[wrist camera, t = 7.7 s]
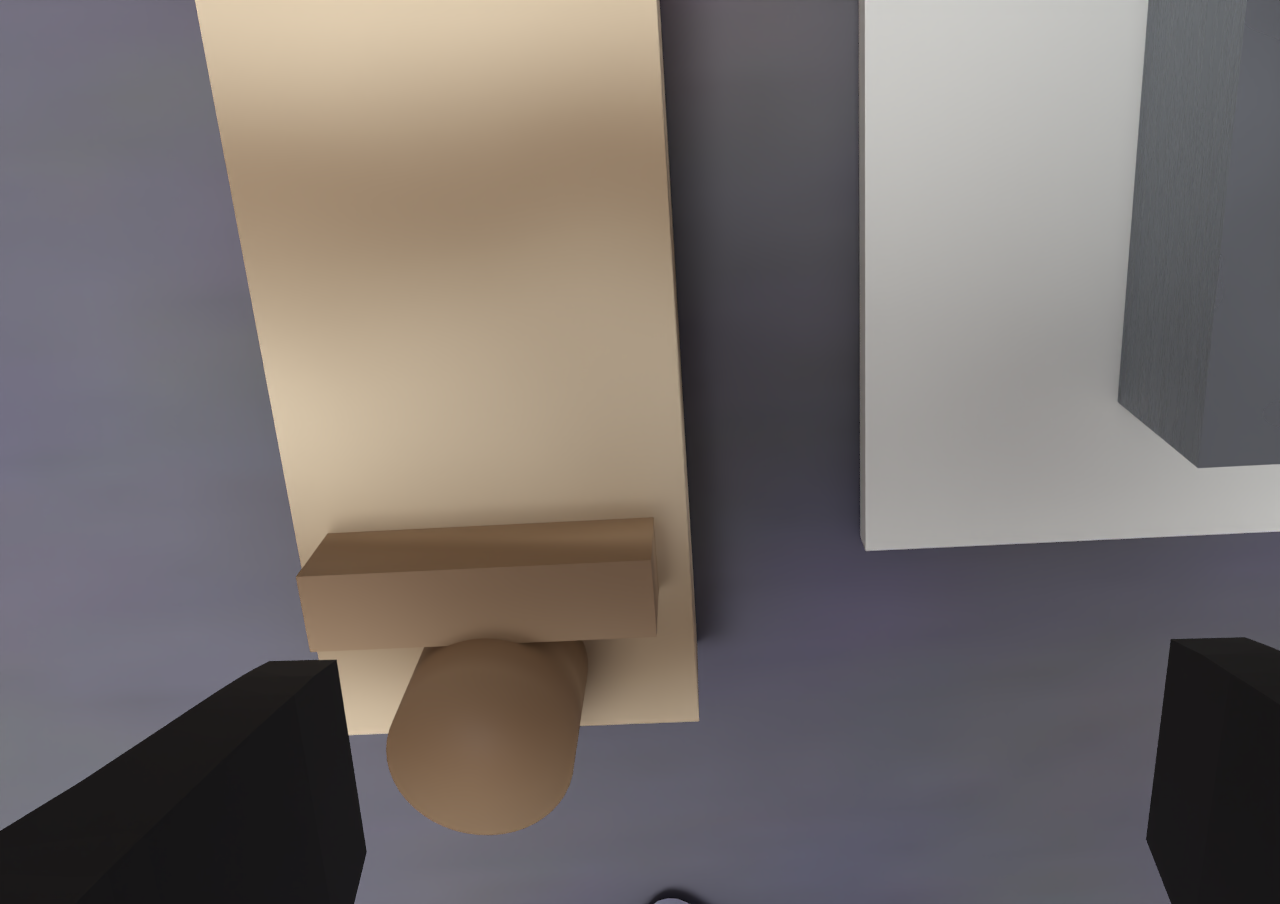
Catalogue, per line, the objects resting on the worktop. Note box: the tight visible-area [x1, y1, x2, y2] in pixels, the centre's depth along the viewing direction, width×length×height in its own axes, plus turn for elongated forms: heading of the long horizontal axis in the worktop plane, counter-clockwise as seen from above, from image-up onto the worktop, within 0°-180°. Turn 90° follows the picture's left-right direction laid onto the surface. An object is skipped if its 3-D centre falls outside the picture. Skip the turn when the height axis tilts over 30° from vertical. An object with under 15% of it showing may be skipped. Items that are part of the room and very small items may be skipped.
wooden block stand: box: [195, 0, 699, 835], centre depth 15 cm, size 16×6×6 cm, turn 4°
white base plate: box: [859, 0, 1280, 551], centre depth 17 cm, size 12×12×1 cm
